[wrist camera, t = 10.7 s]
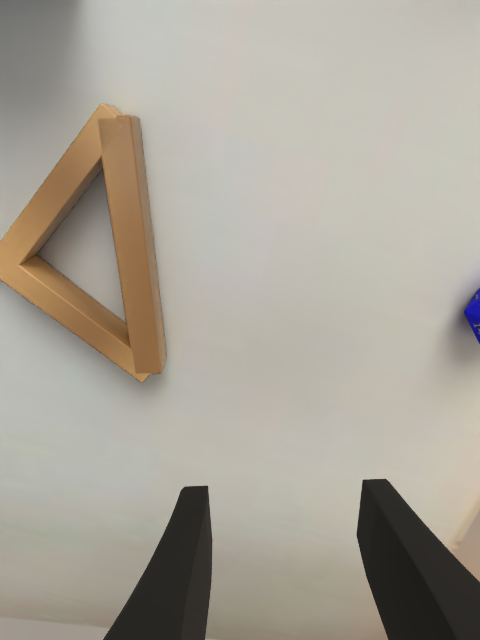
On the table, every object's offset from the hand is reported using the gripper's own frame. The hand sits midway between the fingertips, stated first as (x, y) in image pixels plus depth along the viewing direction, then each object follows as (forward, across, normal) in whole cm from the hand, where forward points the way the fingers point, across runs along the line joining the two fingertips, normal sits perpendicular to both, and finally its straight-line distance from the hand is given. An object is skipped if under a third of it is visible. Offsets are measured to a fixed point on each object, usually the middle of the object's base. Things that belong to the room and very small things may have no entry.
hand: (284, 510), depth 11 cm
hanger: (+9, +8, -5) cm, 13 cm away
